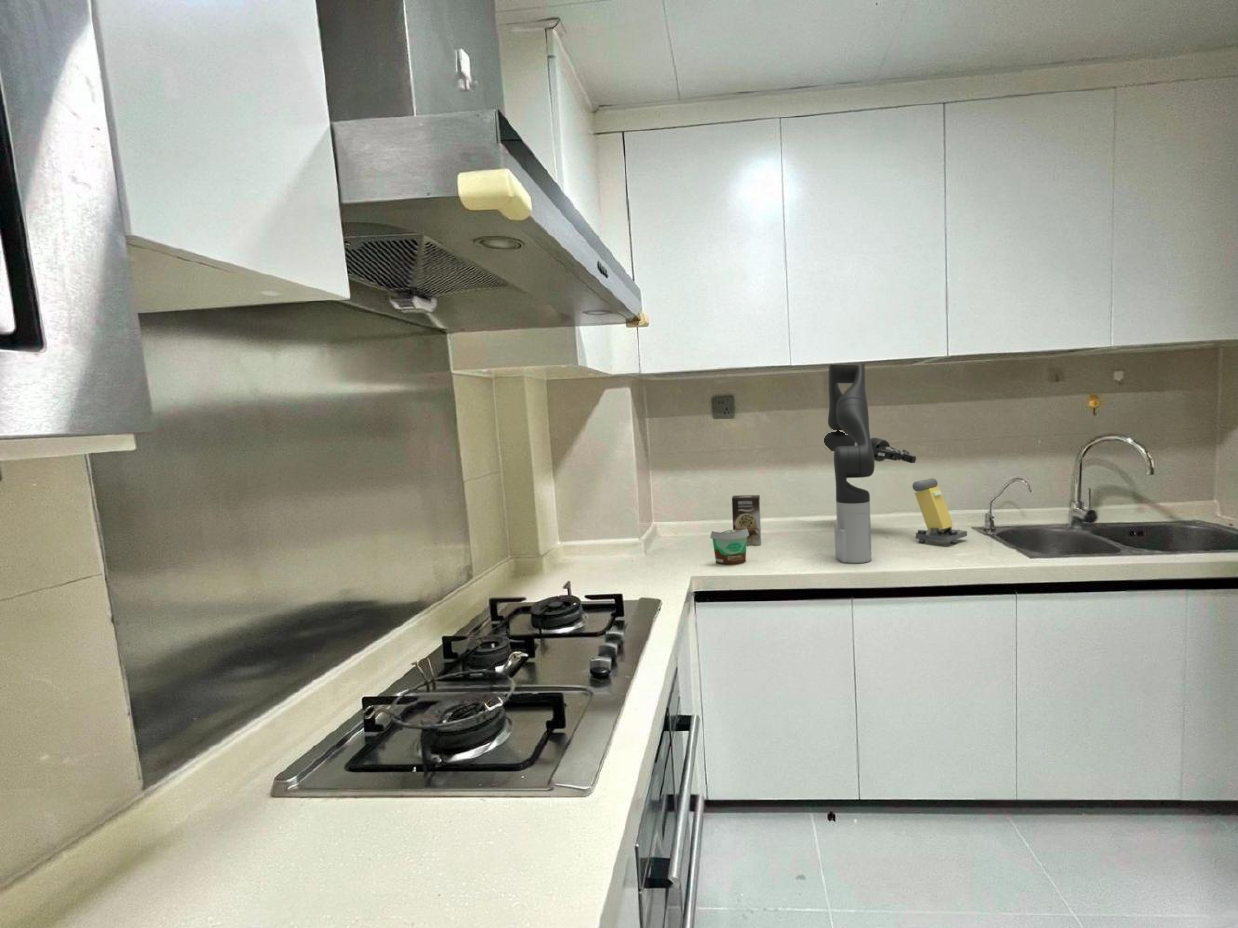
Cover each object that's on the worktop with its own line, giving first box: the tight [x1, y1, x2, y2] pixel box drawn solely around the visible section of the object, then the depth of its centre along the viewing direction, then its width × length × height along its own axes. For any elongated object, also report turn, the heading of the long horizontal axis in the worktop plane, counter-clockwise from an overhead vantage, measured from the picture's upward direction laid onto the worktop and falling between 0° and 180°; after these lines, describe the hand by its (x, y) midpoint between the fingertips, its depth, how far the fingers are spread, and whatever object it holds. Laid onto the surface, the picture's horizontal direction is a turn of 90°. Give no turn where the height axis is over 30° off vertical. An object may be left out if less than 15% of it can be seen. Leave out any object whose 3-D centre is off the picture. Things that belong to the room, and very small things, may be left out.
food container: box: [710, 526, 749, 566], centre depth 197 cm, size 12×6×10 cm, turn 112°
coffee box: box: [731, 494, 762, 546], centre depth 222 cm, size 9×6×16 cm
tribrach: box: [915, 526, 968, 545], centre depth 208 cm, size 12×10×5 cm
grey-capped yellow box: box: [912, 477, 954, 532], centre depth 209 cm, size 9×6×17 cm, turn 126°
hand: (914, 459), depth 212 cm, fingers closed
